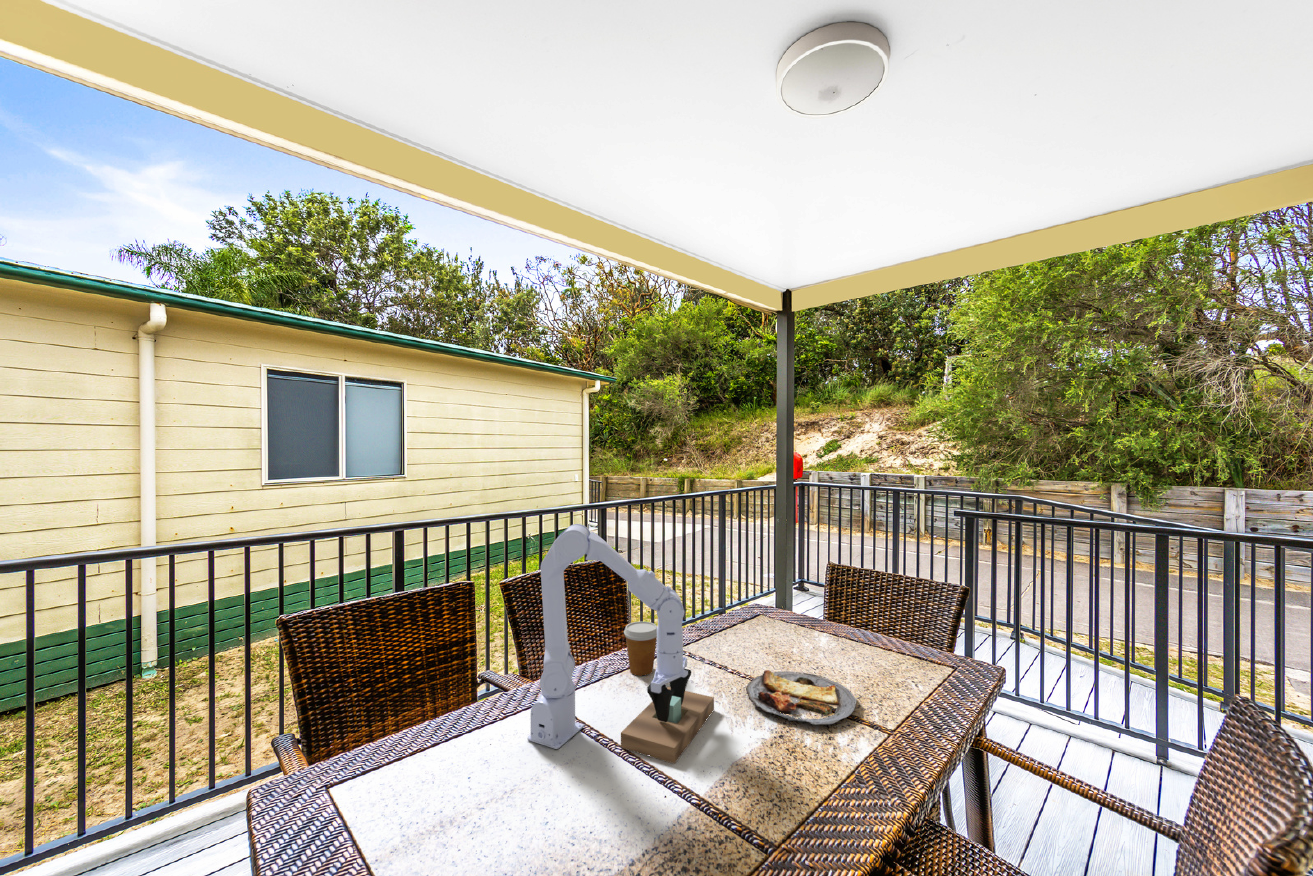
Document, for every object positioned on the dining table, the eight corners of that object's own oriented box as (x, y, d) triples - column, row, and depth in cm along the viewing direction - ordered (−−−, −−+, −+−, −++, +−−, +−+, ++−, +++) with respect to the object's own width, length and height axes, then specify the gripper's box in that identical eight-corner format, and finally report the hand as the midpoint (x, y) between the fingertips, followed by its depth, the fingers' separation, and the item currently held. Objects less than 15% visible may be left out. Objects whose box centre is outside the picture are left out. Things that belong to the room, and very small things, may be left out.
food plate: (733, 711, 116) (733, 695, 116) (761, 672, 136) (762, 659, 136) (848, 742, 104) (849, 725, 104) (860, 695, 125) (860, 681, 125)
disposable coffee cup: (644, 682, 130) (644, 635, 131) (616, 672, 136) (616, 628, 136) (665, 669, 138) (665, 625, 138) (639, 660, 144) (638, 618, 144)
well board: (674, 763, 96) (674, 748, 96) (620, 747, 102) (620, 732, 102) (714, 710, 116) (713, 697, 116) (667, 699, 121) (667, 686, 121)
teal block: (673, 734, 106) (673, 706, 106) (656, 730, 108) (656, 702, 108) (681, 725, 110) (681, 697, 110) (664, 721, 112) (664, 694, 112)
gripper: (672, 665, 101) (673, 733, 101) (699, 640, 114) (699, 700, 114) (641, 658, 104) (642, 725, 104) (671, 635, 117) (671, 694, 117)
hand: (670, 712), depth 109 cm, fingers open, 7 cm apart
